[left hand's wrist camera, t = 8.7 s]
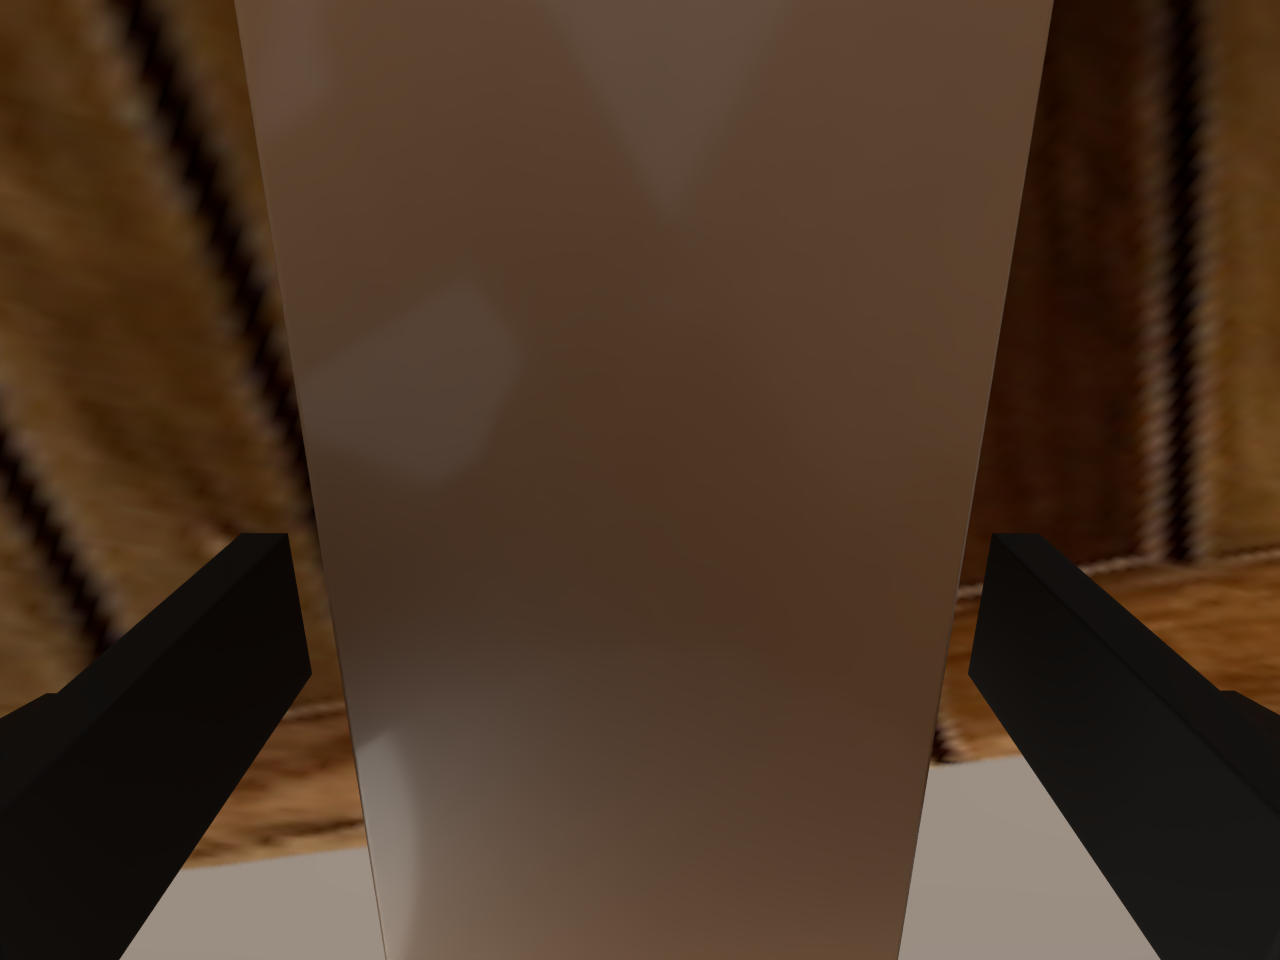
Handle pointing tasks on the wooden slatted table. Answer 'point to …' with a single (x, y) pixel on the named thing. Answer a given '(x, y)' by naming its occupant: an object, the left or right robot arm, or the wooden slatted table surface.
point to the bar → (642, 443)
